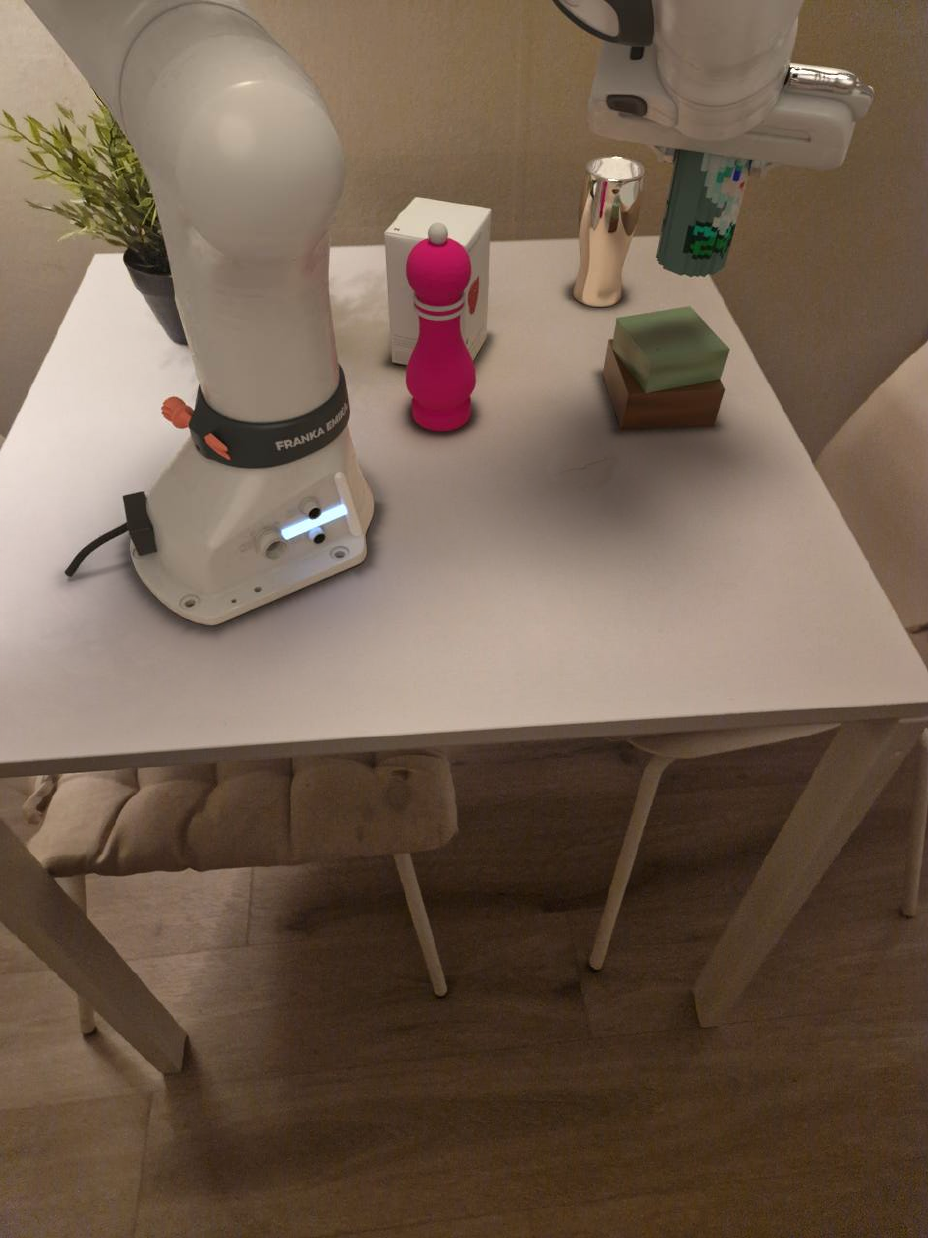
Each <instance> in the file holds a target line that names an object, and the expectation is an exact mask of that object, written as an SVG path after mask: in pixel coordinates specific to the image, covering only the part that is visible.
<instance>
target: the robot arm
mask: <svg viewBox="0 0 928 1238" xmlns="http://www.w3.org/2000/svg"><path fill="white" fill-rule="evenodd" d="M23 1H24V3H25V4H26V5H27V6H28V7H29V9H30V10H31V11H32V12H33V14H34V15H35V17H37V19H38V21H39V22H41V25H43V26H44V28H45V29H46V30H47V32H49V34H50V35H51V36H52V38H53V39H54V40H55V41H56V43H57V44H58V46H59V47H60V48H61V49H62V50H63V52H64V53H65V54H66V56H67V57H68V58H69V60H70V61H71V62H72V63H73V65H74V66H75V67H76V69H77V70H78V71H79V73H80V74H81V75H82V76H83V78H84V79H85V80H86V82H87V83H88V84H89V86H90V87H91V88H92V89H93V91H94V92H95V94H96V95H97V96H98V97H99V99H100V100H101V101H102V102H103V105H105V108H107V109H108V111H109V112H110V114H111V115H112V117H113V118H114V120H115V121H116V123H117V124H118V126H119V128H120V129H121V131H122V132H123V134H124V136H125V138H126V140H127V141H128V143H129V144H130V146H131V148H132V150H133V151H134V154H135V155H136V158H137V160H138V162H139V164H140V165H139V166H140V167H141V169H142V171H143V175H144V176H145V179H146V182H147V184H148V186H149V189H150V192H151V195H152V198H153V202H154V205H155V209H156V213H157V217H158V222H159V225H160V229H161V233H162V238H163V241H164V246H165V251H166V254H167V260H168V264H169V268H170V274H171V279H172V284H173V289H174V302H175V305H176V309H177V311H178V316H179V318H180V322H181V325H182V329H183V332H184V337H185V339H186V343H187V345H188V350H189V352H190V356H191V359H192V363H193V366H194V370H195V374H196V377H197V379H198V382H199V384H198V388H197V393H196V398H195V404H194V409H193V408H192V407H191V406H189V405H187V404H186V402H185V400H183V399H182V398H180V397H179V396H169V397H168V398H166V399H165V400H164V401H163V402H162V406H161V407H160V410H161V415H162V416H163V417H164V418H165V419H166V420H167V421H169V422H170V423H172V426H174V427H175V428H176V429H181V430H182V429H183V430H184V429H187V428H188V429H189V433H190V436H188V438H187V440H186V441H184V443H183V445H182V446H181V447H180V449H179V450H178V451H177V453H176V454H175V456H174V457H173V458H172V460H171V461H170V462H169V463H168V465H167V466H166V467H165V468H164V470H163V471H162V472H161V473H160V475H159V476H158V477H157V478H156V480H155V481H154V482H153V483H152V485H151V486H150V487H149V489H148V490H147V493H146V492H145V491H144V490H141V491H137V492H133V493H132V492H131V493H129V494H124V495H122V501H123V508H124V513H125V519H126V522H124V523H122V524H121V525H118V526H117V527H115V528H113V529H111V530H109V531H107V532H105V533H104V534H101V535H99V536H98V537H97V538H95V539H94V540H92V541H91V542H89V543H88V544H87V545H85V546H84V547H83V548H82V549H81V550H80V551H79V552H78V553H77V554H76V555H75V556H74V558H73V559H72V561H71V562H70V564H69V565H68V566H67V568H66V569H65V570H64V575H65V576H67V577H69V578H72V577H73V576H74V575H75V573H76V572H77V570H78V569H79V567H80V566H81V565H82V564H83V562H85V560H86V558H87V557H89V556H90V555H91V554H92V553H93V552H95V550H97V549H98V548H100V547H102V546H103V545H105V544H106V543H109V542H110V541H112V540H113V539H115V538H117V537H119V536H121V535H123V534H125V533H127V532H128V536H129V537H130V540H129V551H130V556H131V560H132V563H133V566H134V568H135V571H136V573H137V575H138V577H139V578H140V579H141V581H142V583H143V584H144V585H145V586H146V588H147V589H148V590H149V591H150V593H152V595H154V597H156V599H157V600H159V602H160V603H161V604H163V605H164V606H166V607H167V608H168V609H169V610H171V611H172V612H174V613H175V614H176V615H178V616H180V617H182V618H184V619H186V620H188V621H191V622H194V623H197V624H201V625H206V626H216V625H220V624H223V623H225V622H228V621H229V620H232V619H234V618H237V617H239V616H242V615H244V614H245V613H248V612H250V611H253V610H255V609H257V608H261V607H262V606H264V605H267V604H269V603H272V602H274V601H276V600H279V599H281V598H284V597H286V596H288V595H290V594H292V593H295V592H297V591H300V590H301V589H304V588H307V587H308V586H312V585H314V584H316V583H318V582H320V581H323V580H324V579H328V578H330V577H333V576H334V575H337V574H339V573H341V572H344V571H346V570H348V569H351V568H353V567H355V566H357V565H360V564H361V563H363V562H364V561H365V560H366V557H367V554H368V547H367V546H368V545H367V540H366V535H367V532H368V529H369V527H370V525H371V522H372V521H373V517H374V514H375V498H374V494H373V491H372V489H371V487H370V485H369V484H368V482H367V479H366V478H365V476H364V474H363V471H362V469H361V466H360V462H359V460H358V458H357V454H356V451H355V448H354V443H353V440H352V436H351V431H350V428H349V427H350V426H349V422H350V421H349V420H350V418H351V417H350V416H351V406H350V398H349V393H348V386H347V381H346V375H345V372H344V368H343V367H342V365H341V364H340V363H339V358H338V352H337V344H336V336H335V328H334V320H333V319H334V318H333V313H332V304H331V293H330V256H331V255H330V254H331V244H332V243H331V242H332V228H333V225H334V223H335V222H336V220H337V218H338V215H339V213H340V211H341V208H342V206H343V201H344V197H345V193H346V184H347V164H346V157H345V152H344V148H343V145H342V142H341V139H340V136H339V133H338V131H337V127H336V125H335V121H334V119H333V116H332V115H331V112H330V110H329V107H328V104H327V103H326V101H325V98H324V97H323V95H322V93H321V90H320V89H319V87H318V85H317V84H316V82H315V81H314V78H313V77H312V76H311V75H310V73H308V71H307V70H306V69H305V67H304V66H303V65H302V64H301V63H299V61H297V59H296V58H295V57H293V56H292V55H291V54H290V52H288V51H287V49H285V48H284V47H283V46H282V45H281V44H280V43H279V42H278V41H277V40H276V39H275V38H274V37H273V36H272V35H271V34H270V32H269V31H268V30H267V29H266V27H264V25H263V24H262V23H261V21H260V20H259V18H258V17H257V16H256V15H255V14H254V12H253V11H252V9H251V8H250V6H249V4H248V3H247V1H246V0H23ZM551 1H552V2H553V3H554V5H555V6H556V7H557V8H558V10H559V11H560V12H561V13H562V14H563V15H564V16H565V17H567V18H568V19H569V21H571V22H572V23H573V24H575V25H576V26H577V27H579V28H580V29H581V30H582V31H584V32H586V33H588V34H589V35H591V36H593V37H595V38H597V39H599V40H601V41H602V43H601V46H600V49H599V53H598V56H597V57H598V58H597V61H596V62H597V63H596V66H595V71H594V76H593V81H592V84H591V89H590V93H589V97H588V100H587V105H586V125H587V129H588V130H589V132H591V133H592V134H593V135H595V136H597V137H599V138H600V139H601V138H602V139H608V140H616V141H622V142H629V143H636V144H642V145H643V144H644V146H646V147H647V148H648V149H650V150H651V151H652V152H653V153H655V154H656V156H657V163H662V164H669V165H674V162H675V157H676V151H677V149H682V150H689V151H696V152H702V153H709V154H716V155H723V156H729V157H736V158H743V159H750V160H752V162H751V165H750V169H749V174H748V175H749V176H748V177H755V178H760V179H766V178H767V174H768V171H772V170H773V169H776V168H778V167H781V166H782V165H784V166H791V167H798V168H805V169H812V170H816V171H826V172H827V171H831V170H834V169H837V168H839V167H841V166H842V165H843V164H844V162H845V159H846V156H847V152H848V150H849V147H850V143H851V141H852V137H853V134H854V130H855V127H856V124H857V121H860V120H862V119H864V117H865V116H866V115H867V113H868V112H869V111H870V109H871V107H872V105H873V102H874V99H875V90H874V87H872V86H871V85H867V84H865V83H864V82H861V81H860V79H859V78H858V76H857V75H855V73H853V72H851V71H848V70H845V69H841V68H837V67H827V66H820V65H811V64H803V63H795V62H791V60H792V56H793V51H794V48H795V43H796V39H797V33H798V26H799V13H800V11H801V9H802V7H803V5H804V2H805V0H551Z"/></svg>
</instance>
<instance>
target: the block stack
mask: <svg viewBox="0 0 928 1238" xmlns="http://www.w3.org/2000/svg"><path fill="white" fill-rule="evenodd" d="M730 350H731V349H730V347H728V345H727V344H726V343H724V341H723V340H722V339H721V337H720V336H719V335H718V334H717V333H716V332H715V331H714V330H713V329H712V328H711V327H710V326H709V325H708V324H707V322H705V320H703V318H702V316H701V315H699V314H698V313H697V312H696V311H695V309H694V308H693V307H692V306H691V305H689V306H688V305H687V306H682V307H676V308H670V309H669V308H668V309H663V310H658V311H657V310H656V311H651V312H645V313H640V314H633V315H627V316H621V317H620V316H619V317H617V318H616V320H615V326H614V332H613V338H610V339H608V340H607V347H606V352H605V359H604V364H603V371H602V377H603V379H604V383H605V386H606V389H607V392H608V395H609V398H610V402H611V404H612V408H613V410H614V413H615V416H616V419H617V422H618V424H619V427H620V430H621V431H635V430H636V431H637V430H654V429H655V430H657V429H675V428H676V429H677V428H695V427H712V426H713V427H714V426H715V425H716V421H717V419H718V415H719V412H720V409H721V405H722V402H723V399H724V396H725V393H726V388H725V386H724V384H723V382H722V380H721V379H722V376H723V373H724V371H725V366H726V363H727V359H728V356H729V353H730Z"/></svg>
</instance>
